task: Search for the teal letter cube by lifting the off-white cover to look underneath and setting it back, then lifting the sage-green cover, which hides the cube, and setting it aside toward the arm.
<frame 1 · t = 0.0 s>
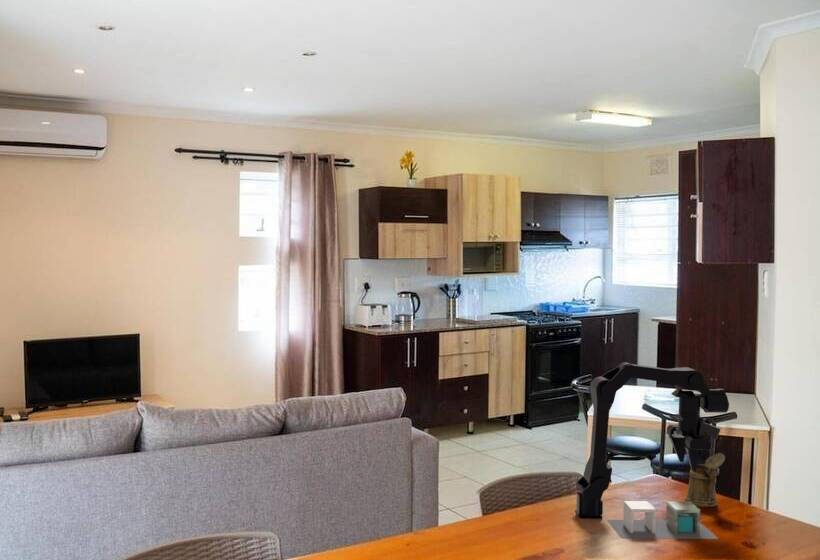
hand: (687, 466, 218), 15 cm above the table, tool pointing down, fingers open, 9 cm apart
cube: (682, 521, 207), on the mat
wooden mug: (704, 506, 228), on the table
cover b: (682, 517, 207), on the mat
cover a: (638, 528, 207), resting on mat
mat: (660, 530, 207), on the table
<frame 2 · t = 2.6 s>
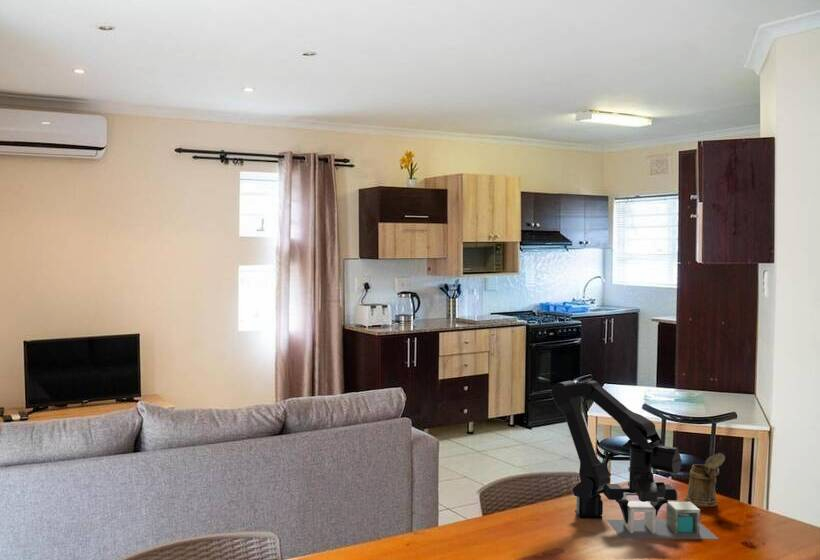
hand: (639, 523, 207), 2 cm above the table, tool pointing down, fingers closed on cover a, 7 cm apart
cover a: (638, 528, 207), resting on mat, touching gripper
everything else where it was.
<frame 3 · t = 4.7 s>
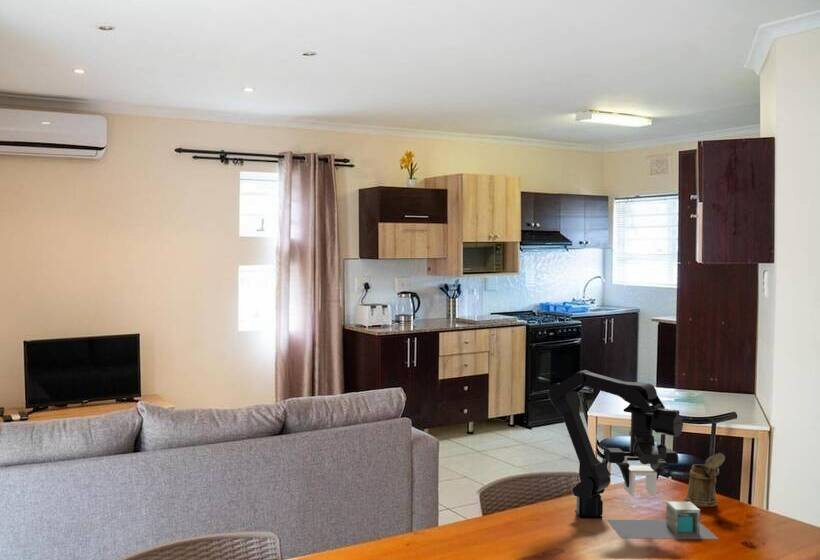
hand: (640, 487, 206), 12 cm above the table, tool pointing down, fingers closed on cover a, 7 cm apart
cover a: (640, 492, 206), point 10 cm above the table, touching gripper
everything else where it was.
when the fingers open (3 cm above the table, at t = 7.1 s): cover a drops 1 cm, resting on mat.
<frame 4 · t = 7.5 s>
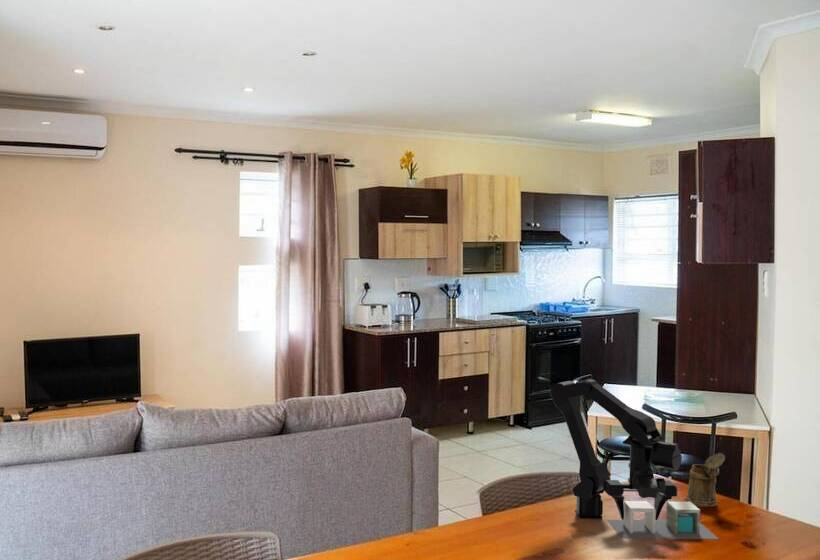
hand: (639, 519, 207), 3 cm above the table, tool pointing down, fingers open, 9 cm apart
cover a: (638, 528, 207), resting on mat
everything else where it was.
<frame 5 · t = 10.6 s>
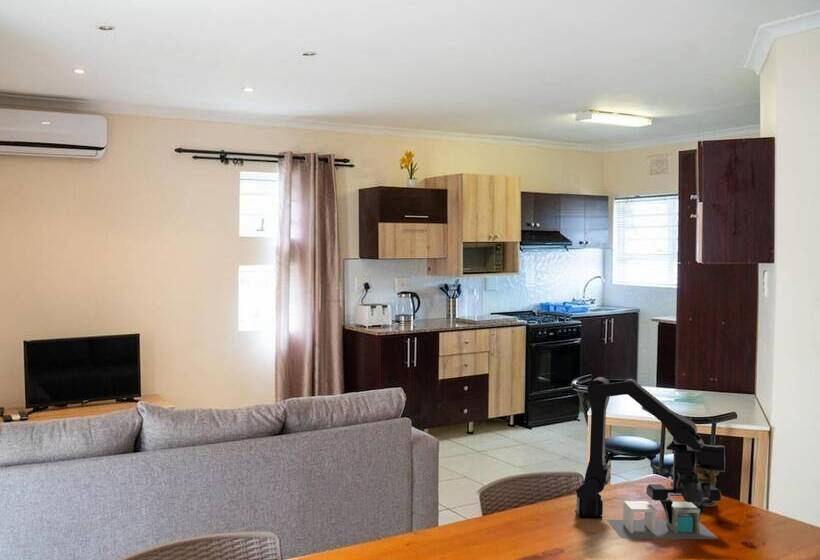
hand: (682, 523, 207), 2 cm above the table, tool pointing down, fingers closed on cover b, 7 cm apart
cover b: (682, 517, 207), on the mat, touching gripper
everything else where it was.
when the fingers open (3 cm above the table, at t = 16.1 s): cover b drops 1 cm, on the table.
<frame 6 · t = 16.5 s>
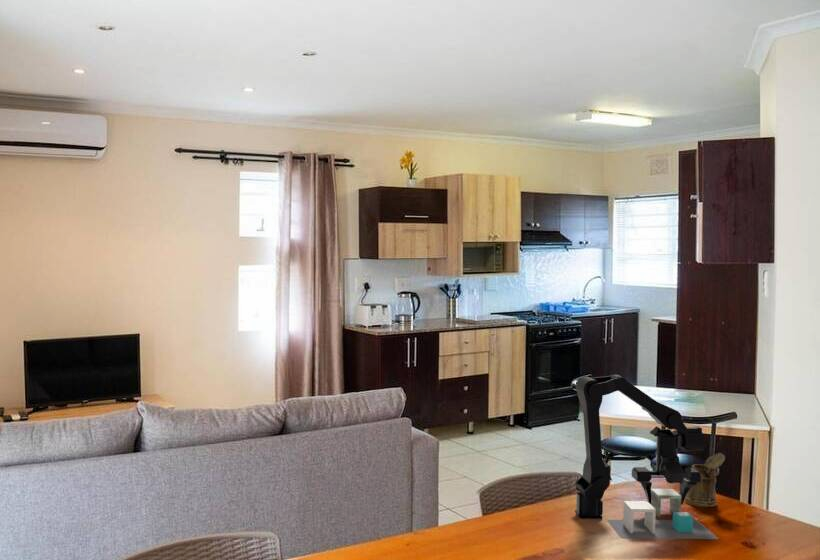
hand: (665, 504, 220), 3 cm above the table, tool pointing down, fingers open, 9 cm apart
cover b: (665, 503, 220), on the table
everything else where it was.
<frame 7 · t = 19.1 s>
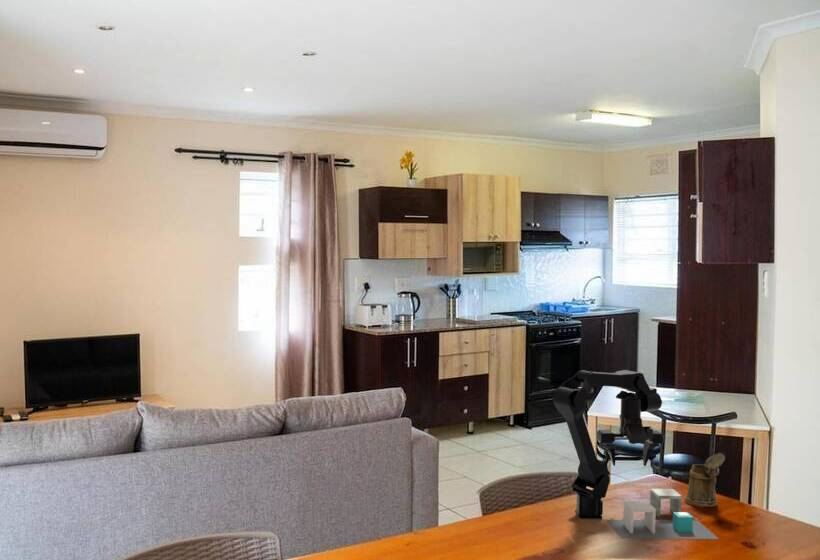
hand: (629, 465, 225), 13 cm above the table, tool pointing down, fingers open, 9 cm apart
nothing on the table moved.
at the end: cover b inside the target area (0.1 cm from its centre), on the table; cube moved 0.0 cm from its start; cover a moved 0.0 cm from its start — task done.
